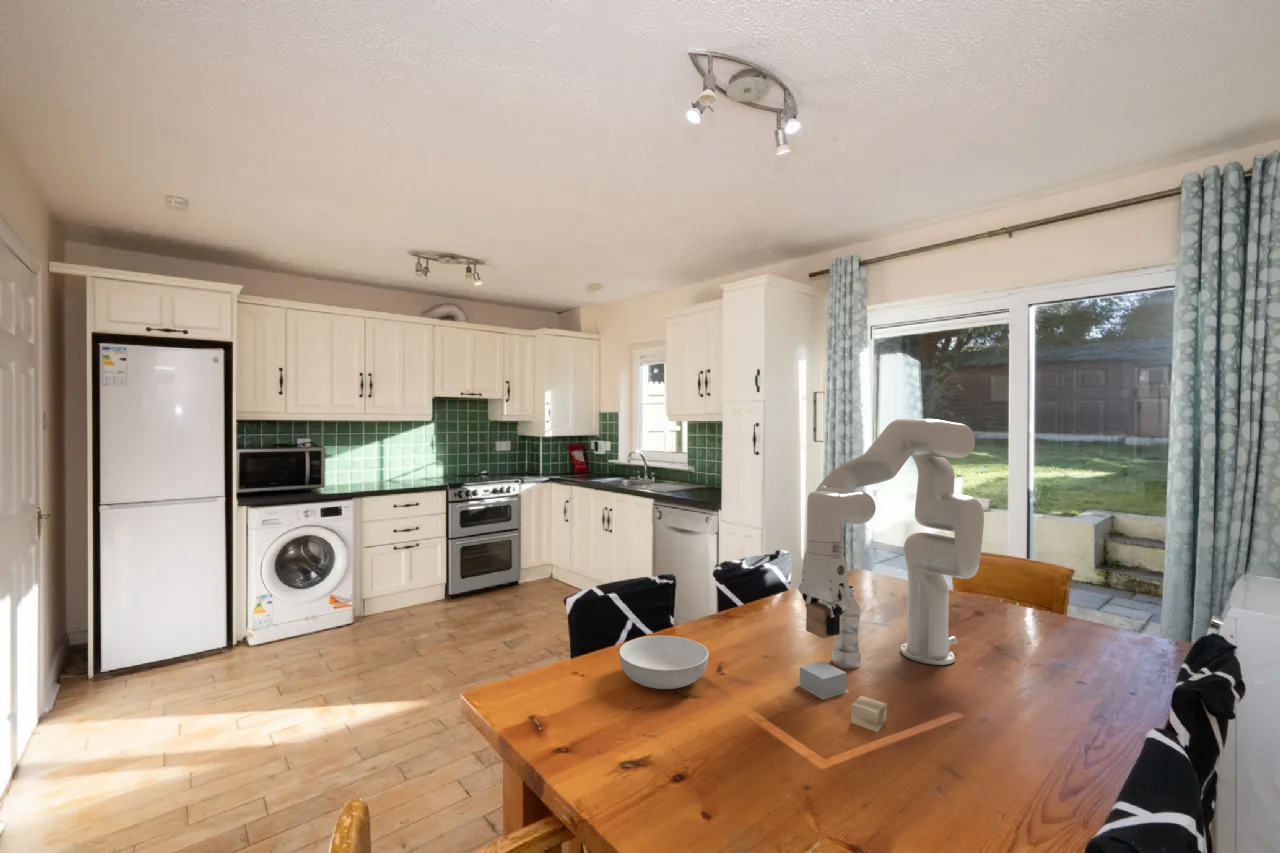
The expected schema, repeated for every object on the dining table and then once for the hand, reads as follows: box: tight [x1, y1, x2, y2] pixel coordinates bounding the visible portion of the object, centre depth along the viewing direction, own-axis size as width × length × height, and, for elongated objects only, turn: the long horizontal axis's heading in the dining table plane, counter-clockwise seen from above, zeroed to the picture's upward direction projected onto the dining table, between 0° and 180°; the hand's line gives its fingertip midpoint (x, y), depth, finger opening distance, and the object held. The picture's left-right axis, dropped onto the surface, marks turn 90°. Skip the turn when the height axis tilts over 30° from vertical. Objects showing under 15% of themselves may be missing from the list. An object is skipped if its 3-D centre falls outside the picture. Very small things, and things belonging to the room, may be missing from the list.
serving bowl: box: [618, 635, 710, 690], centre depth 134 cm, size 21×21×7 cm
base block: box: [799, 660, 848, 698], centre depth 128 cm, size 7×7×4 cm
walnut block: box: [805, 600, 840, 639], centre depth 128 cm, size 5×5×6 cm
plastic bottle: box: [831, 584, 862, 670], centre depth 141 cm, size 6×7×20 cm
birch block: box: [850, 695, 888, 733], centre depth 113 cm, size 5×5×5 cm
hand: (823, 628), depth 128 cm, fingers closed on walnut block, 5 cm apart
